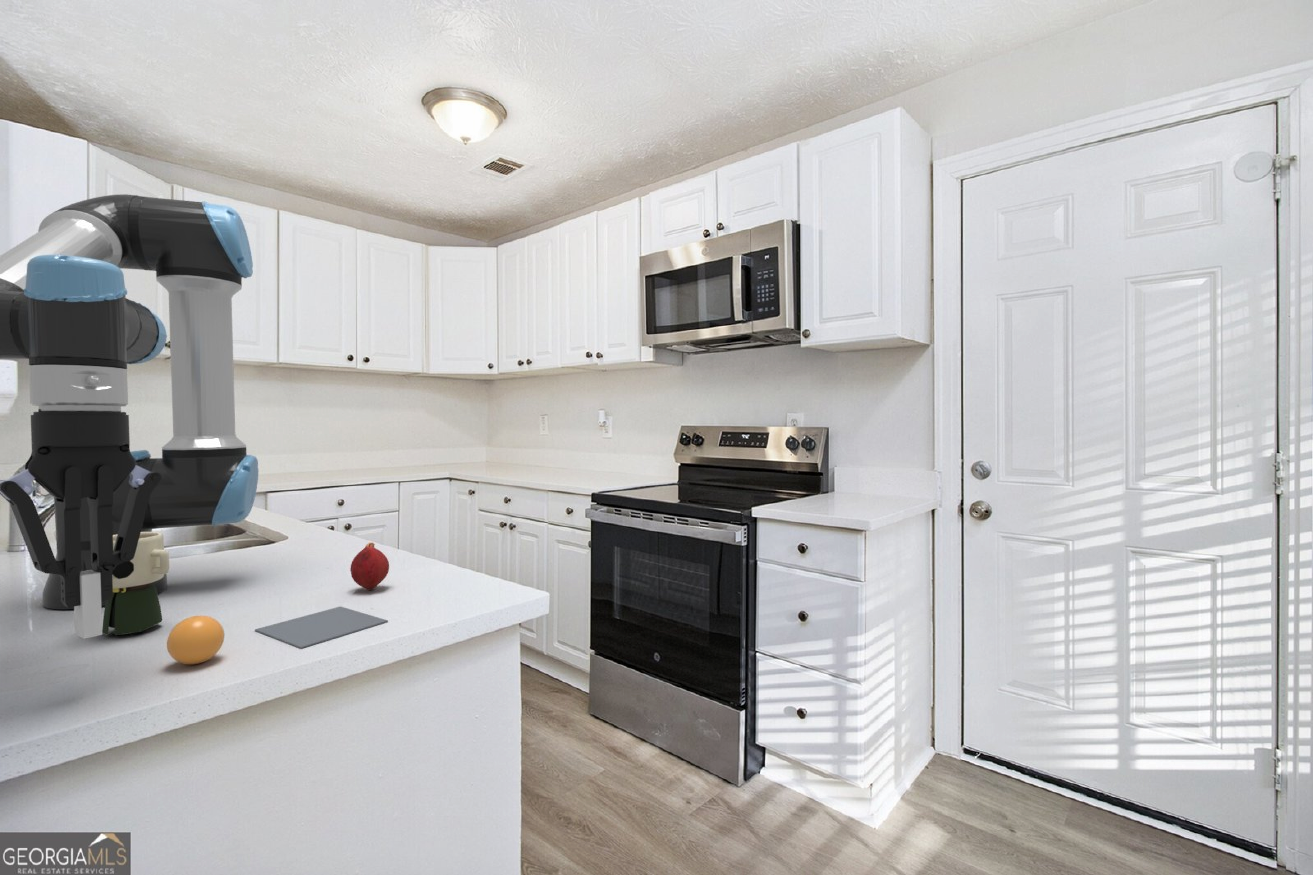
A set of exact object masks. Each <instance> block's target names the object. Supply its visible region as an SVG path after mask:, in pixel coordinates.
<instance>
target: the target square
mask: <svg viewBox="0 0 1313 875" xmlns="http://www.w3.org/2000/svg"><path fill="white" fill-rule="evenodd" d="M388 622H389V620H387V619H385V618H381V617H377V616H374V615H370V614H367V613H364V612H361V611H358V610H354V609H351V608H347V607H344V606H341V605H340V606H337V607H334V608H329V609H326V610H321V611H318V612H314V613H312V614H307V615H303V616H300V617H296V618H292V619H288V620H285V621H281V622H277V623H273V624H271V625H266V626H262V627H259V628H255V629H254V631H255V632H257V633H260V634H262V635H264V636H267V637H270V638H272V639H275V640H278V641H279V642H283V643H285V644H288V645H290V646H292V647H296V648H299V649H305V648H308V647H311V646H315V645H318V644H321V643H325V642H327V641H331V640H334V639H338V638H340V637H344V636H348V635H350V634H355V633H356V632H360V631H364V630H366V629H369V628H372V627H375V626H376V627H377V626H379V625H383V624H385V623H388Z"/></svg>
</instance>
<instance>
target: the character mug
mask: <svg viewBox="0 0 1313 875" xmlns="http://www.w3.org/2000/svg"><path fill="white" fill-rule="evenodd" d="M117 535H118V534H117ZM117 535H113V550H114V546H115V543H116V539H117ZM169 570H170V553H169V551H168V550H165V544H164V534H163V532H159V531H152V532H141V533H140V537H139V540H138V544H137V548H136V552H135V556H134V558H133V559H132V560H131V561H127V562H124V563H121V564H119V565H117V566H116V568H115V569H114V570H113V571H112V580H113V595H112V598H111V600H106V603H105V606H104V610H103V616H102V617H103V618H102V634H104V635H109V630H110V628H111V629H114V635H115V636H119V635H128V634H135V633H140V632H145V631H146V630H147V629H150V628H152V627H154V626H156V625H158V624H160V623H162V622H163V615H162V608H161V603H160V599H159V595H158V594H159V593H157V589H156V588H155V586H154V585H152V584H151V583H152V582H155V581H157V580H160V579H161V578H163V577H164V574H166V575H167V574H168V573H169V572H170V571H169Z"/></svg>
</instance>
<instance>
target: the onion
mask: <svg viewBox="0 0 1313 875" xmlns="http://www.w3.org/2000/svg"><path fill="white" fill-rule="evenodd" d="M375 544H376V543H374V542H372V541H371V542H368V543H367V544H366V545H365V547H364V548H362V549H361V550H360V551H359V552H357V554H356V555H355V557H354V558H353V559H352V562H351V564H350V574H351V578H352V580H353V582H354V583H356V585H358V586H360V587H361V588H363V589H366V590H368V591H373V590H375V589H376V587H377V586H378V585H379V584H381V583H382V582H383V581H384V580H385V578H387V575H388V574H389V570H390V563H389V559H388V558H387V556H386V555H385V554H384V552H382V551H381V550H379V549H377V548H376V547H375Z"/></svg>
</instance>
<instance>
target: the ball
mask: <svg viewBox="0 0 1313 875" xmlns="http://www.w3.org/2000/svg"><path fill="white" fill-rule="evenodd" d="M224 641H225V631H224V628H223V626H222V624H221V623H220V622H219V621H218V620H216V619H215V618H213V617H211V616H206V615H194V616H190V617H187V618H185V619H183V620H181V621H179V622H178V623H177V624H176V625H175V626H174V627H173V628H172V629H171V631H170V632H169V634H168V636H167V639H166V649H167V652H168V654H169V656H170V657H171V658H172V659H173V660H174V661H175V662H178V663H180V664H184V665H197V664H201V663H204V662H206V661H208V660H210V659H212V658H213V657H214V656H215V655H217V653H218V652H219V651H220V650H221V648H222V646H223V644H224Z"/></svg>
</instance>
